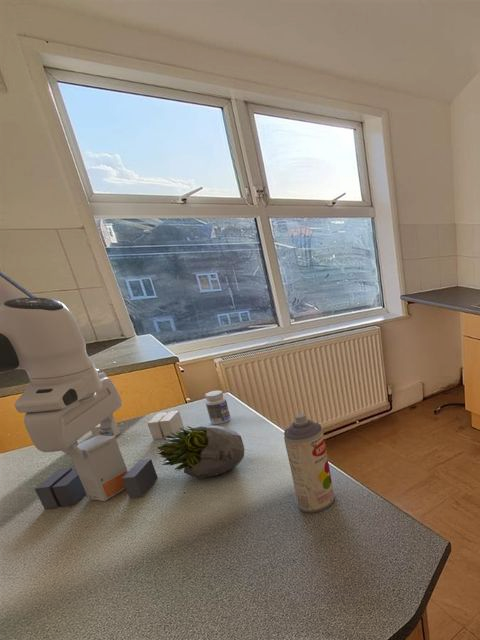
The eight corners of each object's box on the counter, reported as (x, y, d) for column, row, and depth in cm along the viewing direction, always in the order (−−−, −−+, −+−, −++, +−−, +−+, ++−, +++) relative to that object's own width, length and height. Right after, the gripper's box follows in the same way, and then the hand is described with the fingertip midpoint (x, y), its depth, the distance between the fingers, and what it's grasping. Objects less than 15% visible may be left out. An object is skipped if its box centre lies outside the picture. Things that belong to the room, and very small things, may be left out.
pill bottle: (227, 423, 119) (220, 395, 116) (208, 425, 118) (200, 397, 115) (233, 415, 123) (226, 389, 120) (214, 417, 122) (207, 390, 119)
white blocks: (96, 445, 107) (89, 427, 105) (110, 434, 113) (103, 417, 111) (174, 437, 112) (168, 420, 110) (184, 426, 117) (178, 410, 115)
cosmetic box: (105, 502, 87) (84, 451, 83) (88, 499, 88) (65, 449, 83) (134, 484, 93) (115, 436, 88) (117, 482, 94) (98, 434, 89)
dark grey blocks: (44, 509, 85) (34, 488, 83) (67, 488, 91) (58, 468, 89) (142, 497, 89) (134, 476, 87) (158, 477, 95) (151, 458, 93)
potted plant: (246, 466, 94) (158, 474, 84) (235, 480, 103) (154, 489, 93) (243, 414, 98) (159, 416, 88) (233, 432, 106) (154, 435, 96)
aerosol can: (329, 512, 86) (312, 423, 78) (293, 514, 85) (273, 424, 77) (338, 491, 92) (324, 407, 84) (305, 492, 91) (288, 408, 84)
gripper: (82, 367, 90) (106, 425, 95) (5, 408, 71) (40, 478, 77) (118, 364, 91) (139, 422, 96) (52, 404, 73) (82, 473, 78)
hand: (95, 447), depth 86 cm, fingers open, 8 cm apart
